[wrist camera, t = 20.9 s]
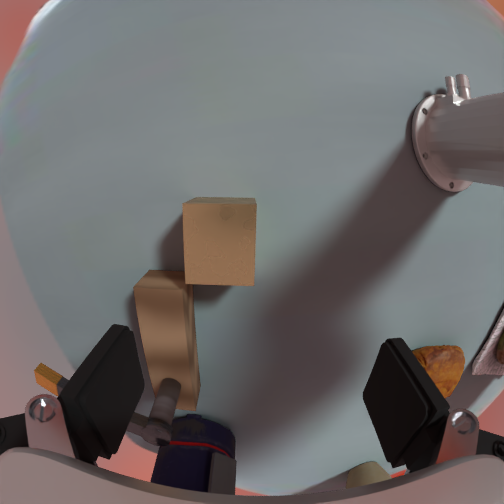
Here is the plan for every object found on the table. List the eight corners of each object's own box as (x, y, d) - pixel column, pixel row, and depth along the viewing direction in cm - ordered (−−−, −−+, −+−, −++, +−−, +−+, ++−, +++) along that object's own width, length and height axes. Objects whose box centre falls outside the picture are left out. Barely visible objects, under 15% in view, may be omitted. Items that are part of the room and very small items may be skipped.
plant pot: (342, 460, 42) (358, 518, 27) (400, 447, 42) (422, 496, 27) (325, 485, 46) (335, 534, 31) (376, 475, 47) (391, 518, 31)
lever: (43, 377, 20) (36, 386, 19) (40, 359, 20) (32, 368, 18) (170, 437, 22) (167, 449, 21) (175, 423, 21) (172, 436, 20)
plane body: (149, 269, 29) (105, 318, 18) (192, 271, 29) (164, 324, 19) (166, 381, 34) (146, 442, 23) (200, 385, 34) (188, 448, 23)
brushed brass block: (196, 197, 27) (182, 203, 22) (254, 197, 27) (256, 204, 22) (197, 262, 29) (185, 283, 23) (252, 263, 29) (254, 285, 24)
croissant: (401, 327, 35) (422, 355, 27) (466, 338, 34) (489, 362, 26) (363, 398, 38) (373, 430, 31) (428, 401, 37) (443, 428, 30)
